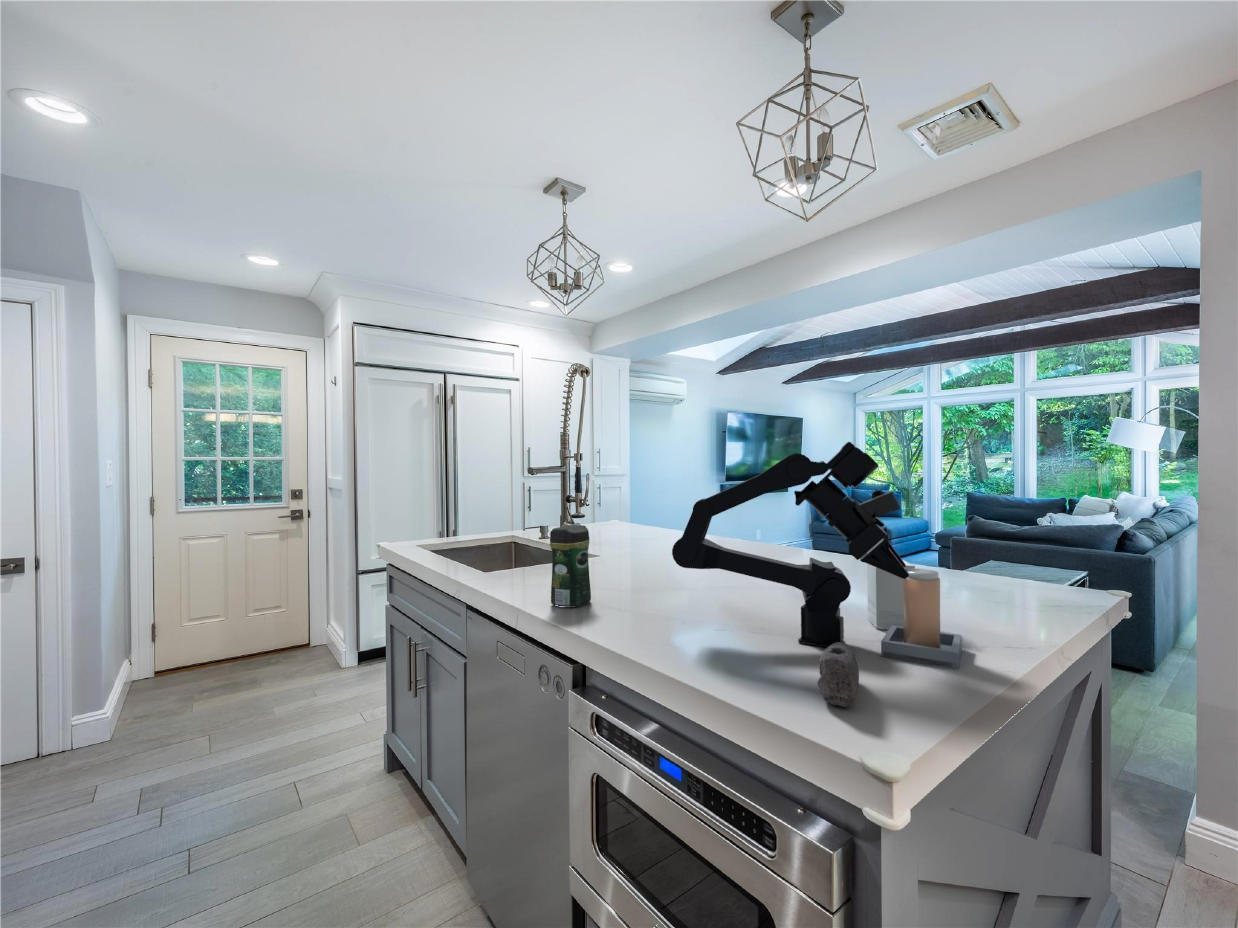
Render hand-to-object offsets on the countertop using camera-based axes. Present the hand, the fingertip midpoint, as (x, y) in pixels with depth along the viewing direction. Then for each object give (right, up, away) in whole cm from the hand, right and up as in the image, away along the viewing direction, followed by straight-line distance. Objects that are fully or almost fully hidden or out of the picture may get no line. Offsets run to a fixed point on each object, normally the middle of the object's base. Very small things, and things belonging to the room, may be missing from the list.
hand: (905, 572), depth 96 cm
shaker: (+2, -13, -1) cm, 13 cm away
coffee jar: (-61, -15, +36) cm, 72 cm away
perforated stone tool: (-18, -14, -17) cm, 29 cm away
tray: (+2, -14, -1) cm, 14 cm away
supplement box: (+5, -14, +15) cm, 21 cm away
